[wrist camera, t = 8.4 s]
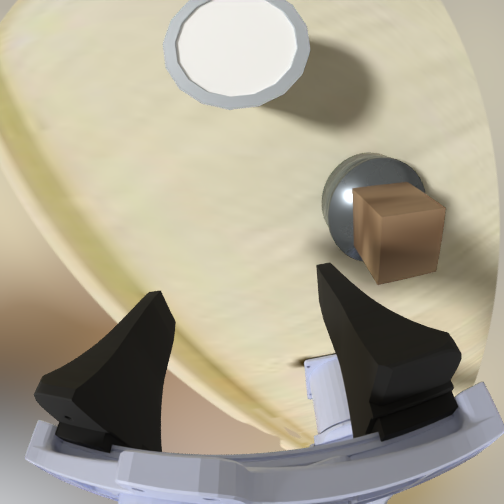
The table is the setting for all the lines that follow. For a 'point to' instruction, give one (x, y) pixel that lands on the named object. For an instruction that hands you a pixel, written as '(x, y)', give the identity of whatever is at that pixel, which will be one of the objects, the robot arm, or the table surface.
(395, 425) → the robot arm
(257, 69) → the grey and white cylinder
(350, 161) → the tin
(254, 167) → the table surface
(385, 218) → the walnut block
